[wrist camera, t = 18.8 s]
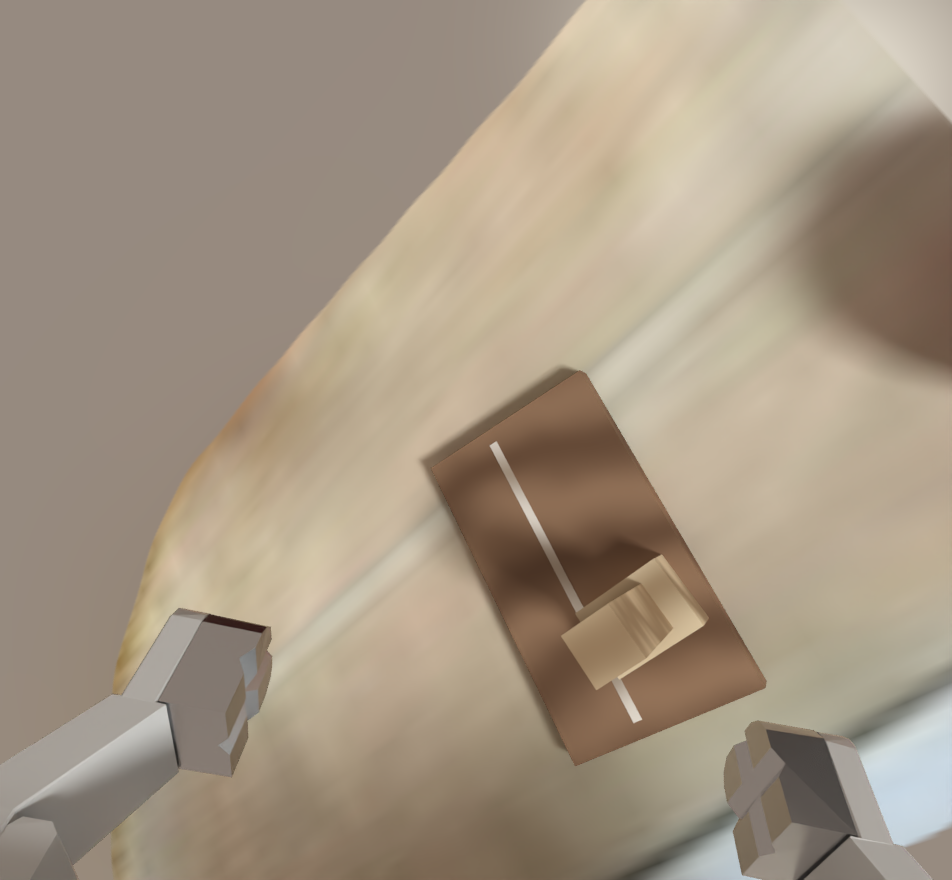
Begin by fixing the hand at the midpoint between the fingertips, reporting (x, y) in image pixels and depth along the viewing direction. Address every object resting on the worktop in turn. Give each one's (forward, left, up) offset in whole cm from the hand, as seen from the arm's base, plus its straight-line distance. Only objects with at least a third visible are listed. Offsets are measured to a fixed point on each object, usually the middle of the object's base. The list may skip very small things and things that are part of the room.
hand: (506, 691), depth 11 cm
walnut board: (+3, +8, -33) cm, 34 cm away
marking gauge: (-2, +6, -32) cm, 32 cm away
